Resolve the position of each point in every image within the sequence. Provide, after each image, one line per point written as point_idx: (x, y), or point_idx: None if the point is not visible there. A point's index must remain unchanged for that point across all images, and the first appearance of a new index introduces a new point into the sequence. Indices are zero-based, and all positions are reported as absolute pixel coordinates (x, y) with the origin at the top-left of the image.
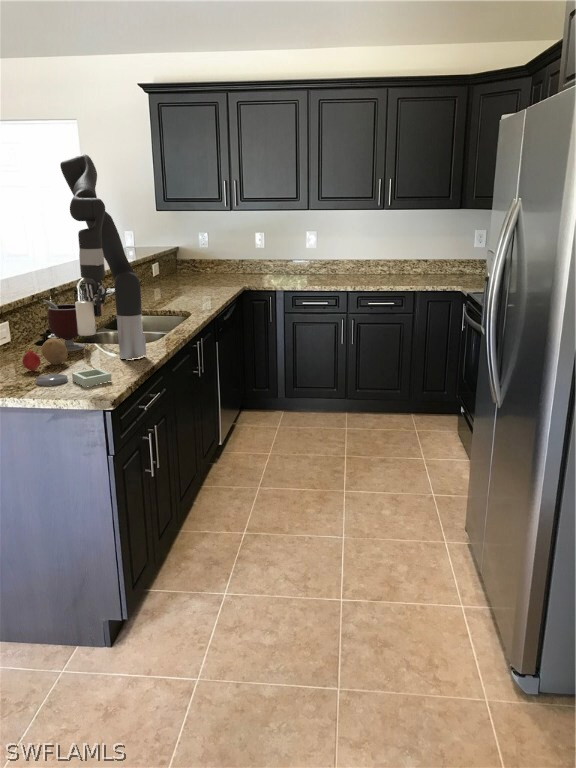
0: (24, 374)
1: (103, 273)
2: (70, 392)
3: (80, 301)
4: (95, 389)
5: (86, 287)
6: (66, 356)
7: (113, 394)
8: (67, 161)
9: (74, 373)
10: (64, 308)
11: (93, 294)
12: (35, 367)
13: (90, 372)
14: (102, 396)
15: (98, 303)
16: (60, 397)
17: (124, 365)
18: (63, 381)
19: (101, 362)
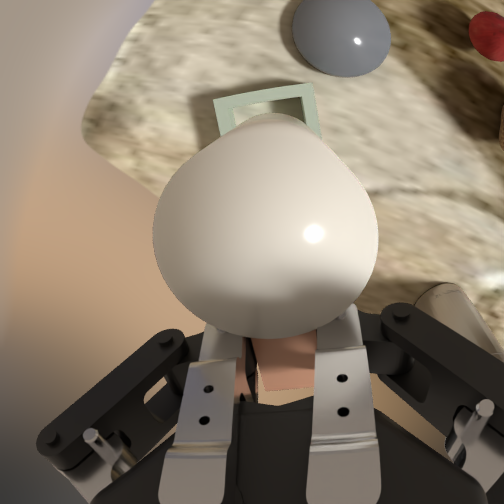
0: (454, 8)
1: None
2: (193, 54)
3: (336, 223)
4: (187, 123)
5: (347, 454)
6: (502, 146)
7: (123, 158)
8: None
9: (300, 88)
10: None
11: (186, 399)
12: (470, 38)
13: None
14: (118, 128)
15: (158, 344)
16: (160, 26)
17: (390, 272)
18: (301, 54)
19: (457, 231)
